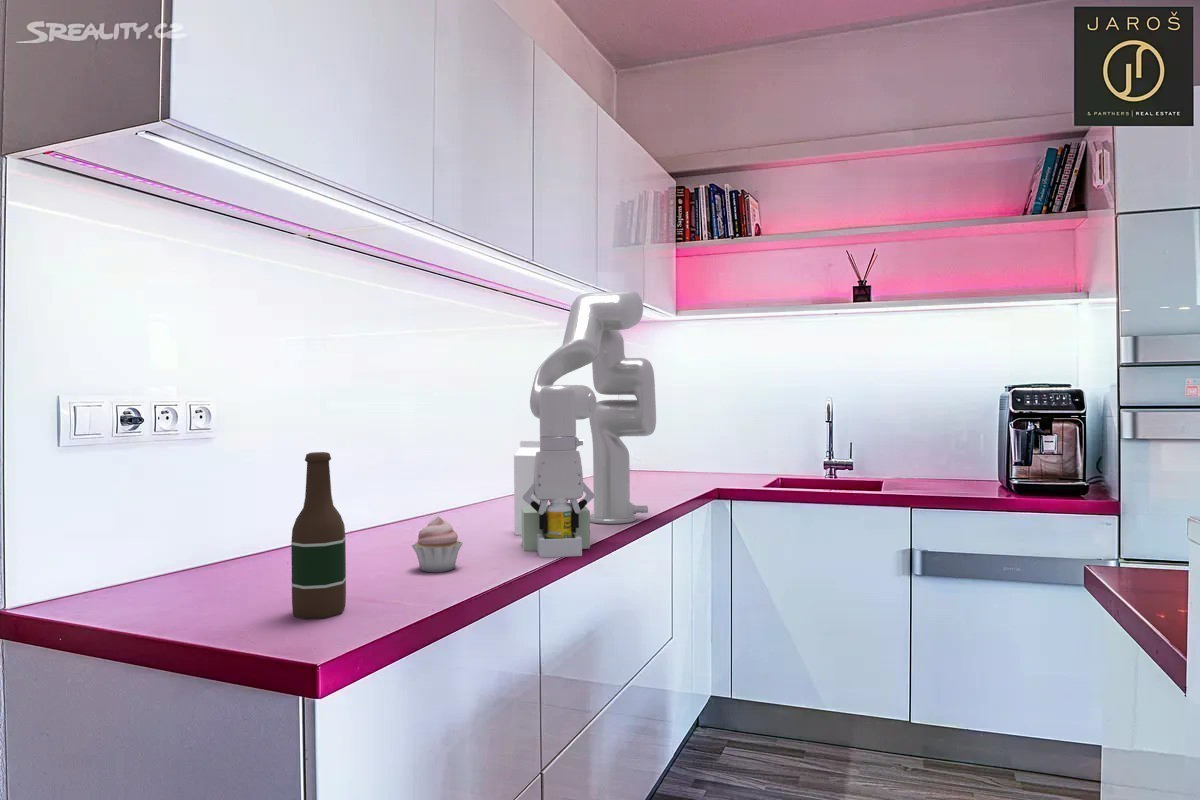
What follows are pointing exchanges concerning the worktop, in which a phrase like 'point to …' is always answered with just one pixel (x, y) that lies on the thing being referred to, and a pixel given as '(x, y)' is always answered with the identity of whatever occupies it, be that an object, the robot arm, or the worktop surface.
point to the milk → (524, 478)
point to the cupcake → (437, 546)
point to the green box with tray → (554, 547)
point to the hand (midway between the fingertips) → (559, 531)
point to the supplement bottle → (559, 519)
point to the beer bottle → (318, 547)
